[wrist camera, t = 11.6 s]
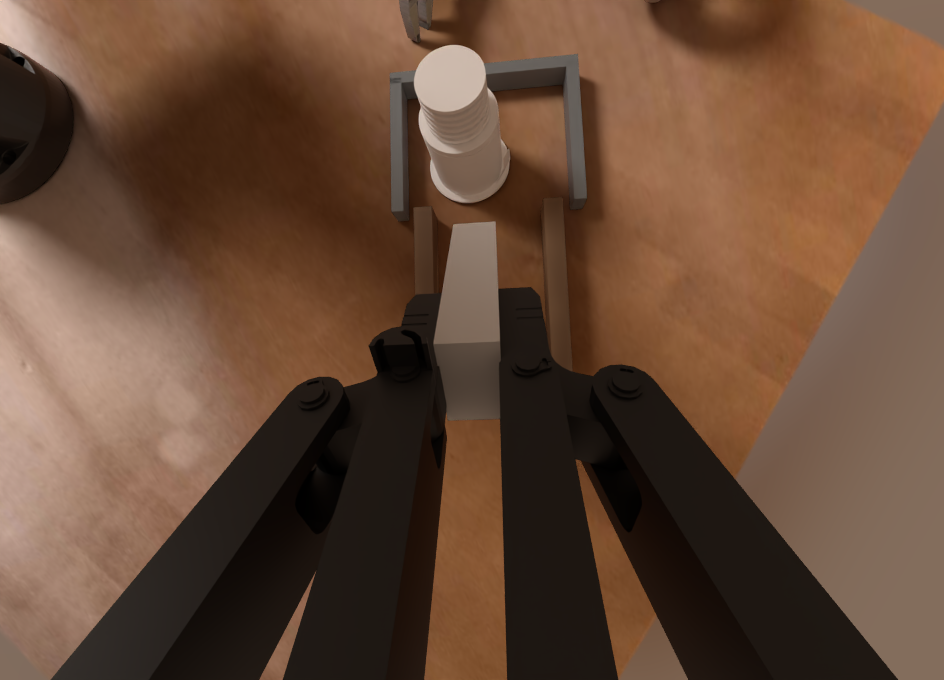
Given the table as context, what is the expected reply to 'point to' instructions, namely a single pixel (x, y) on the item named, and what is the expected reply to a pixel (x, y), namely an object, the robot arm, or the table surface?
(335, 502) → the robot arm
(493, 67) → the open frame
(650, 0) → the donut
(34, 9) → the table surface
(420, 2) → the caliper
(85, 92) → the table surface
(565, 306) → the slot
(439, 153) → the downlight
